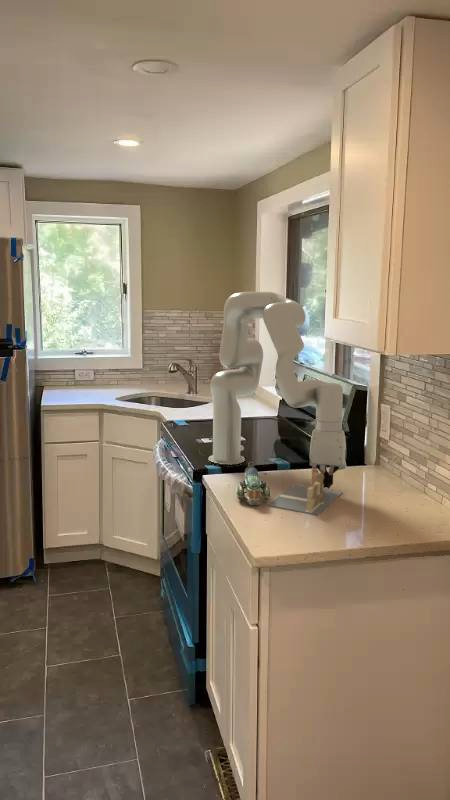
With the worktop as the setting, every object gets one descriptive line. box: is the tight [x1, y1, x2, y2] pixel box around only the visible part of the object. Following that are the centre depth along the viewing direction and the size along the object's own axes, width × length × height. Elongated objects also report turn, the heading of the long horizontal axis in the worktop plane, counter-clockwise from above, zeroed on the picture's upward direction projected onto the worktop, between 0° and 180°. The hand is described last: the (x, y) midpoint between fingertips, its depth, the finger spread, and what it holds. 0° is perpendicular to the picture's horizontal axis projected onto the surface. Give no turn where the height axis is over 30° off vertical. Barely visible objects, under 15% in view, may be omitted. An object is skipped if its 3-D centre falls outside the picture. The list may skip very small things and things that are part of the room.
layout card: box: [266, 483, 343, 516], centre depth 185 cm, size 21×15×1 cm
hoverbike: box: [236, 461, 271, 508], centre depth 189 cm, size 10×25×8 cm, turn 1°
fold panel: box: [310, 466, 320, 486], centre depth 188 cm, size 11×1×7 cm, turn 0°
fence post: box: [307, 472, 324, 511], centre depth 178 cm, size 10×2×9 cm, turn 152°
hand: (327, 486), depth 189 cm, fingers closed
